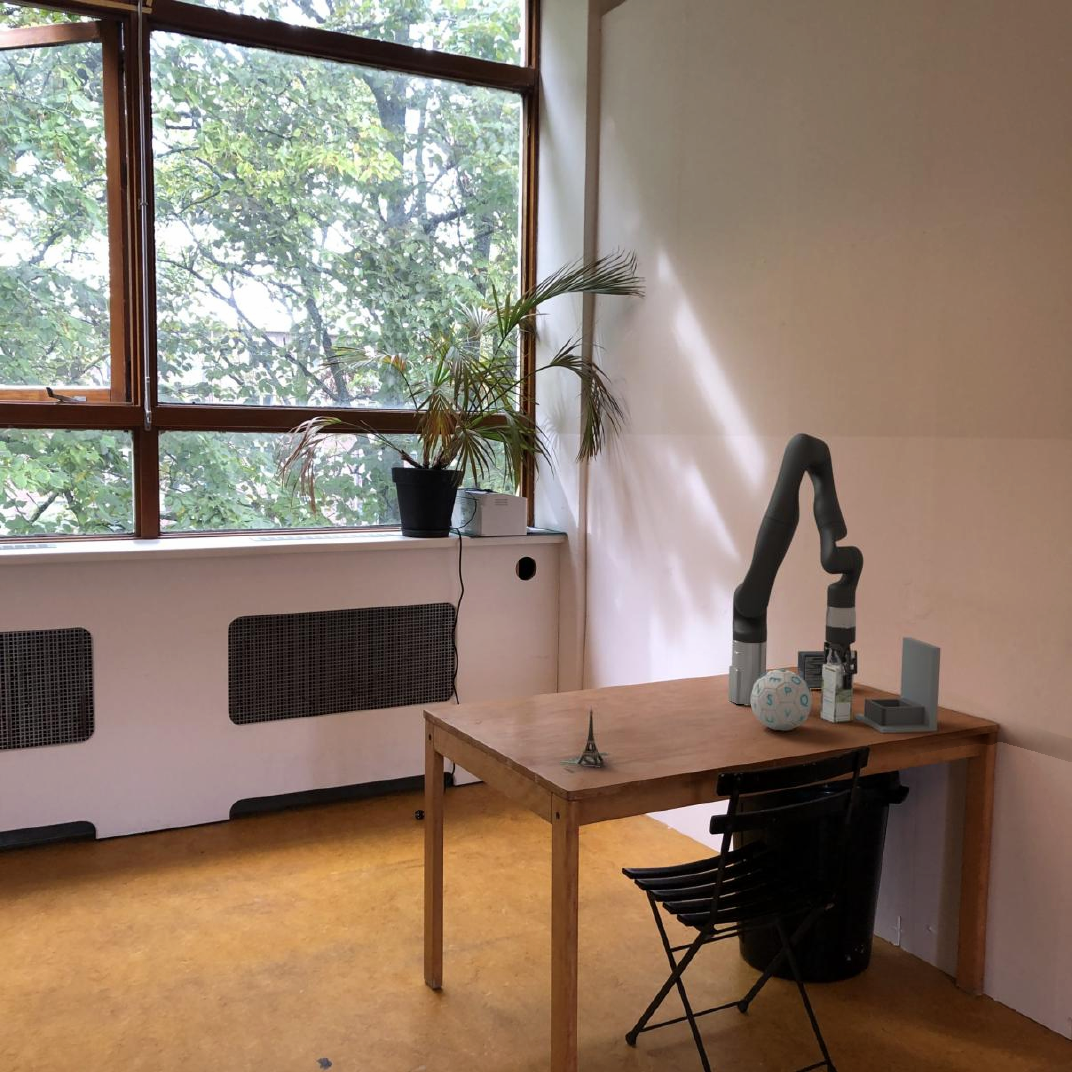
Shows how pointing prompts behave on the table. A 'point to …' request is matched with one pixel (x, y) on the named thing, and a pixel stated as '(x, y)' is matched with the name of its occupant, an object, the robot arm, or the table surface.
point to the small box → (811, 667)
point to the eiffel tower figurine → (587, 751)
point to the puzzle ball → (781, 700)
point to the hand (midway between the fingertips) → (839, 685)
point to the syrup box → (835, 695)
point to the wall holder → (909, 693)
